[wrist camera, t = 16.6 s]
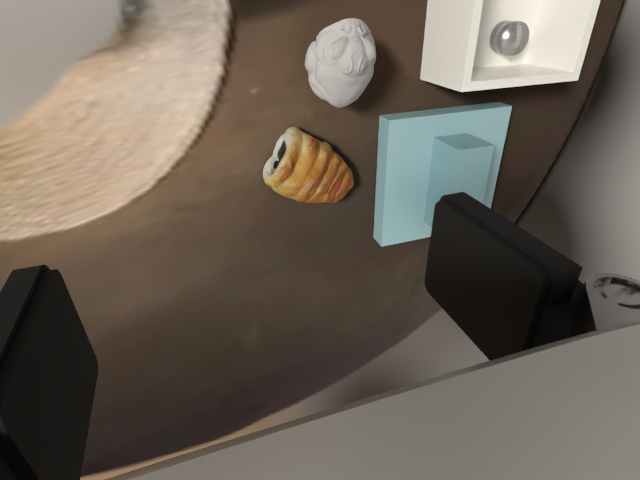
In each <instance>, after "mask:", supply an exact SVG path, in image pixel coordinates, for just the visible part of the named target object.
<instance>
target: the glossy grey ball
mask: <svg viewBox="0 0 640 480" xmlns="http://www.w3.org/2000/svg"><path fill="white" fill-rule="evenodd" d="M528 40H529V28H528V26H527V24H526V23H524V22H522V21H502V22H500V23H498V24H497V25H496V26H495V27H494V29H493V30H492V33H491V35H490V47H491V49H492V51H493V52H495V53H498V54H504V55H510V56H514V55H517V54H519V53H520V52H521V51H522V50H523V49H524V48H525V47H526V45H527V43H528Z"/></svg>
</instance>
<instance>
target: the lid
mask: <svg viewBox="0 0 640 480" xmlns="http://www.w3.org/2000/svg"><path fill="white" fill-rule="evenodd" d="M511 109H512V106H510V105H507V104H504V103H500V102H493V103H484V104H475V105H466V106H457V107H448V108H440V109H431V110H422V111H413V112H404V113H395V114H386V115H380V117H379V137H378V157H377V177H376V197H375V217H374V237H373V238H374V239H375V240H376V241H377V242H378V243H379V244H380V246H381V247H382V246H387V245H392V244H397V243H402V242H407V241H412V240H417V239H421V238H426V237H431V230H432V223H433V215H434V208H435V204H436V203H437V202H438V201H439V200H440V198H441V197H442V196H443V195H447V194H453V193H459V192H464V193H467V194H468V195H470V196H471V197H473V198H474V199H476V200H478V201H479V202H481V203H482V204H484V205H485V206H487V207H489V208H490V209H491V204H492V200H493V195H494V190H495V185H496V180H497V176H498V171H499V166H500V161H501V157H502V152H503V147H504V142H505V138H506V133H507V128H508V123H509V119H510V114H511Z"/></svg>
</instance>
